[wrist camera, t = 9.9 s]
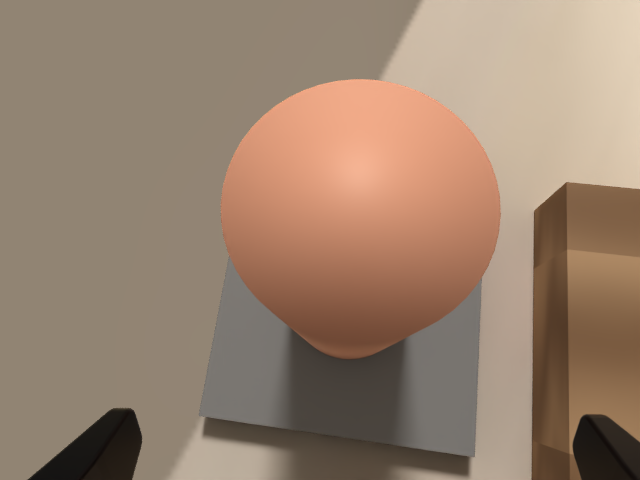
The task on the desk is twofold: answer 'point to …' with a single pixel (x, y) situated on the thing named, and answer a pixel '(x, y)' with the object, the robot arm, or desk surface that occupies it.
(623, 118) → the desk surface
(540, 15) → the desk surface
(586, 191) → the walnut pocket block
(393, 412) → the rubber mat
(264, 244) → the terracotta peg
